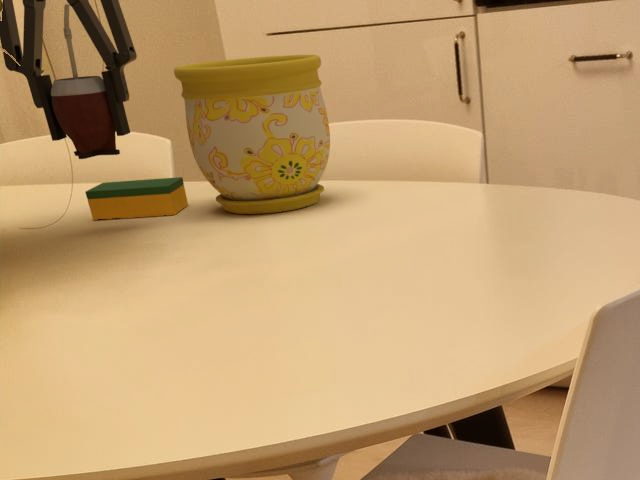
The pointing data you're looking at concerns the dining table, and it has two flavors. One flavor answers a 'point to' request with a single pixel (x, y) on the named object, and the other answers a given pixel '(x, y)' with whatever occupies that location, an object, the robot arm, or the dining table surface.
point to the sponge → (137, 198)
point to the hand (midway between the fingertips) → (91, 136)
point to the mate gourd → (83, 108)
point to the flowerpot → (258, 130)
